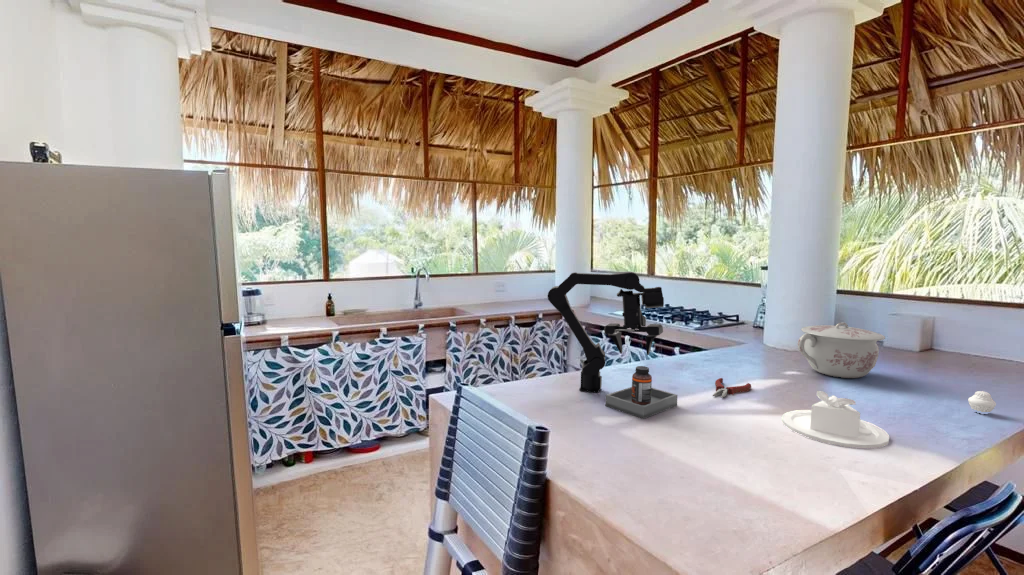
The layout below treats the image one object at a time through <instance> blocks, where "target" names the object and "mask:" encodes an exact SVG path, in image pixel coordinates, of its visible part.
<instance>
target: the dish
mask: <svg viewBox="0 0 1024 575" xmlns="http://www.w3.org/2000/svg"><path fill="white" fill-rule="evenodd" d="M816 396H817V398H818V399H819V400H820V401H818V402H815V403H814V404H812V405H811V409H798V410H796V409H795V410H794V409H793V410H791V411H787V412H784V413H783V414H782V416H781V422H782V424H783V426H784V425H785V426H784V427H786V426H787V427H788V428H789V429H788V428H787V427H786V428H787V429H788V430H790V429H791V430H792V431H791V430H790V431H791V432H793V431H795V432H797V433H799V434H798V435H800V434H802V435H804V436H806V437H809V438H808V439H810V438H812V439H811V440H813V439H815V440H814V441H816V440H818V441H817V442H820V441H821V442H820V443H823V442H824V443H823V444H827V443H830V444H829V445H832V444H835V445H834V446H837V445H840V446H839V447H842V446H844V447H843V448H851V447H852V448H853V449H864V450H866V449H867V448H868V449H880V448H883V447H884V445H885V446H888V445H889V442H890V435H889V433H887V431H886V430H885V429H884V428H881V427H879V426H878V425H875V424H874V423H872V422H868V421H865V420H863V419H861V412H860V411H858V410H856V409H855V408H853V407H852V405H853V406H854V405H857V404H856V401H855V400H854V399H851V398H844V397H841V398H839V397H837V396H836V395H834V394H833V395H830V396H829V395H828V393H827V392H825V391H822V390H821V391H820V390H817V391H816ZM795 432H794V433H795ZM797 433H796V434H797ZM802 435H801V436H802ZM804 436H803V437H804ZM806 437H805V438H806ZM887 444H888V445H887ZM882 446H883V447H882ZM879 447H880V448H879ZM852 448H851V449H852Z"/></svg>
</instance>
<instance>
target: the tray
mask: <svg viewBox="0 0 1024 575" xmlns="http://www.w3.org/2000/svg"><path fill="white" fill-rule="evenodd" d="M631 397H632V386H630V387H627V388H623V389H620V390H618V391H614V392H611V393H608V394H605V407H608V408H610V409H613V408H614V410H616V409H617V411H619V410H620V411H619V412H622V411H623V413H625V414H628V415H631V416H634V417H638V418H639V417H640V419H642V418H643V419H646V417H647V418H649V417H652V416H654V414H655V415H656V413H657V414H659V412H660V413H662V412H665V411H667V410H670V409H672V408H675V407H677V406H678V394H676V393H672V392H668V391H666V390H661V389H657V388H654V387H651V403H650V404H647V405H639V404H636V403H633V402H632V398H631ZM674 406H675V407H674ZM669 408H670V409H669ZM666 409H667V410H666ZM664 410H665V411H664ZM661 411H662V412H661ZM651 415H652V416H651Z"/></svg>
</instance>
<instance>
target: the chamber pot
mask: <svg viewBox="0 0 1024 575" xmlns="http://www.w3.org/2000/svg"><path fill="white" fill-rule="evenodd" d="M800 330H801V331H802V332H803V334H802V335H801V336H799V338H798V340H797V349H798V352H800V354H801V356H803V357H804V358H805V359H806V361H807V362H808V364H809V366H810V367H811V368H812V369H813V370H814V371H815V372H818V373H820V374H822V375H824V374H825V376H828V377H832V376H833V378H838V377H841V379H858V378H863V377H865V376H867V375H868V374H869V373H870V372H871V371H872V370H873V369H874V368H875V366H876V364H877V361H878V359H879V351H880V350H879V349H880V348H879V346H878V344H877V342H878V341H879V342H880V341H883V340H885V339H886V336H885V335H883V334H881V333H879V332H878V333H877V332H875V331H872V330H868V329H864V328H858V327H851V326H849V325H848V323H847V322H845V321H844V322H839V323H837V324H836V325H831V324H830V325H825V324H823V325H821V324H818V325H809V326H808V325H807V326H802V328H801V329H800Z"/></svg>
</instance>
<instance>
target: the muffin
mask: <svg viewBox="0 0 1024 575" xmlns="http://www.w3.org/2000/svg"><path fill="white" fill-rule="evenodd" d="M967 401H968V404H969V406H970V408H971V410H972V409H974V410H977V411H981V412H990V413H991V412H992V411H993V410H994V409H995V407H996V405H997V403H996V401H995V400H993V398H992V395H991V394H990V393H989V392H987V391H984V390H982V391H981V390H978V391H975V392H974V394H973V395H972V396H970V397H968V400H967Z"/></svg>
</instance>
